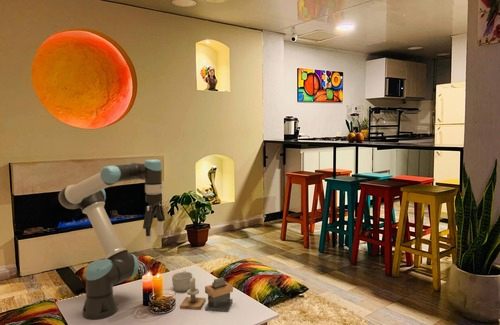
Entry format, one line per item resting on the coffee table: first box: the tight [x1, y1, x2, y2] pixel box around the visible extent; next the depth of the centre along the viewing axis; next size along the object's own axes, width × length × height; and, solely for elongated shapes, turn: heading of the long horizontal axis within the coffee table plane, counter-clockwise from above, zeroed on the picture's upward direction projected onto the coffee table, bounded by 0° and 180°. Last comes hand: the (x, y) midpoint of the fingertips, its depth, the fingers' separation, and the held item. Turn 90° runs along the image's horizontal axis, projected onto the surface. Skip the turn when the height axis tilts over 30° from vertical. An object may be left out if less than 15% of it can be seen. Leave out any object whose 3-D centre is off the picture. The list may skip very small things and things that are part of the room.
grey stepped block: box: [204, 277, 233, 313], centre depth 186 cm, size 11×11×14 cm
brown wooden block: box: [204, 281, 234, 298], centre depth 186 cm, size 11×7×3 cm, turn 127°
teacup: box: [171, 270, 193, 292], centre depth 208 cm, size 14×11×8 cm
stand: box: [179, 277, 207, 311], centre depth 188 cm, size 10×10×13 cm
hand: (154, 238), depth 179 cm, fingers open, 13 cm apart
